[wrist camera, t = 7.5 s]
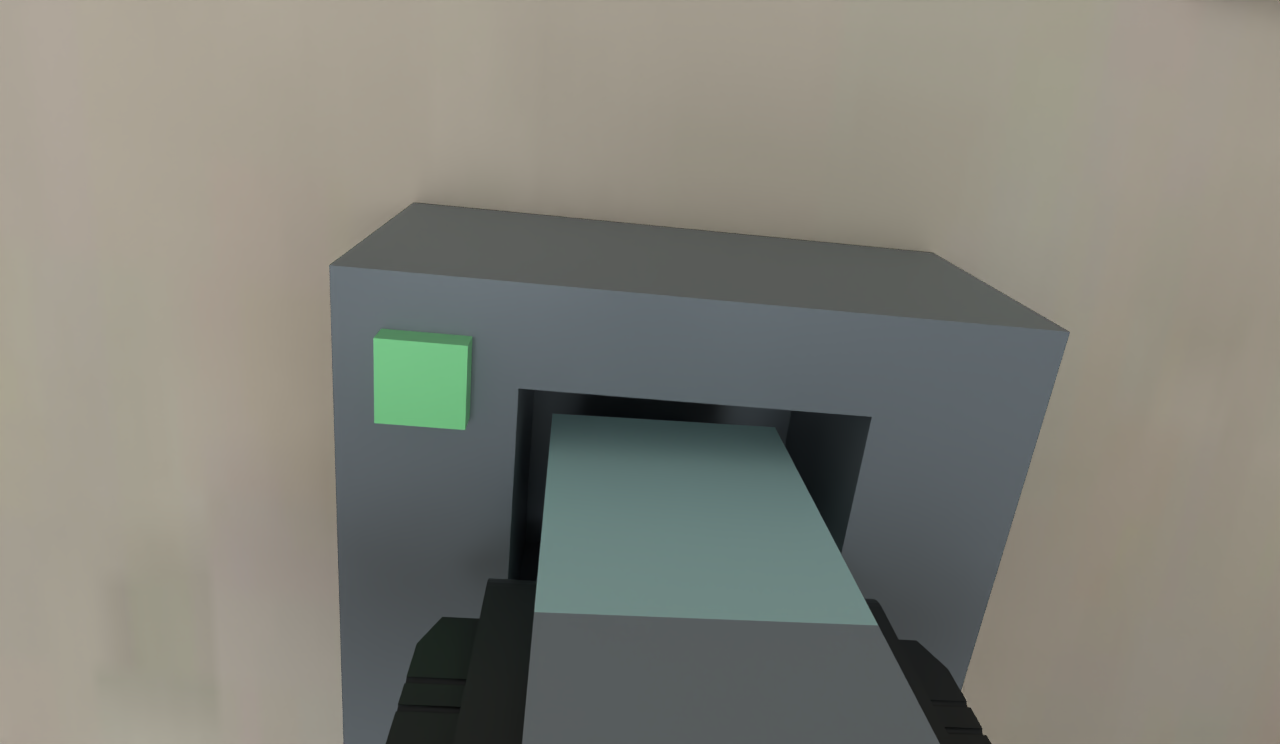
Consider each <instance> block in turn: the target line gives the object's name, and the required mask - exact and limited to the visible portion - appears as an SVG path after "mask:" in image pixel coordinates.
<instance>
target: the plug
mask: <svg viewBox="0 0 1280 744" xmlns="http://www.w3.org/2000/svg"><path fill="white" fill-rule="evenodd" d="M522 744H940V743H939V741H938V739H937V737H936V735H935V734H934V732H933V730H932V728H931V726H930V724H929V722H928V720H927V718H926V716H925V714H924V712H923V710H922V709H921V707H920V705H919V703H918V701H917V699H916V697H915V695H914V693H913V691H912V689H911V687H910V686H909V684H908V682H907V680H906V678H905V676H904V674H903V672H902V670H901V668H900V666H899V664H898V662H897V661H896V659H895V657H894V655H893V653H892V651H891V649H890V647H889V645H888V643H887V641H886V639H885V638H884V636H883V634H882V632H881V630H880V628H879V626H878V624H877V622H876V620H875V618H874V616H873V614H872V613H871V611H870V609H869V607H868V605H867V603H866V601H865V599H864V597H863V595H862V593H861V591H860V590H859V588H858V586H857V584H856V582H855V580H854V578H853V576H852V574H851V572H850V570H849V568H848V566H847V565H846V563H845V561H844V559H843V557H842V555H841V553H840V551H839V549H838V547H837V545H836V543H835V542H834V540H833V538H832V536H831V534H830V532H829V530H828V528H827V526H826V524H825V522H824V520H823V518H822V517H821V515H820V513H819V511H818V509H817V507H816V505H815V503H814V501H813V499H812V497H811V495H810V494H809V492H808V490H807V488H806V486H805V484H804V482H803V480H802V478H801V476H800V474H799V472H798V470H797V469H796V467H795V465H794V463H793V461H792V459H791V457H790V455H789V453H788V451H787V449H786V447H785V446H784V444H783V442H782V440H781V438H780V436H779V434H778V432H777V430H776V428H775V427H765V426H749V425H732V424H716V423H700V422H684V421H667V420H651V419H635V418H619V417H602V416H586V415H570V414H553V413H552V424H551V435H550V446H549V457H548V467H547V478H546V489H545V500H544V511H543V522H542V533H541V543H540V554H539V565H538V576H537V587H536V598H535V609H534V620H533V630H532V641H531V652H530V663H529V674H528V685H527V696H526V706H525V717H524V728H523V739H522Z"/></svg>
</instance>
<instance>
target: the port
mask: <svg viewBox="0 0 1280 744" xmlns="http://www.w3.org/2000/svg"><path fill="white" fill-rule="evenodd" d="M329 268H330V302H331V335H332V369H333V403H334V436H335V470H336V503H337V537H338V571H339V604H340V638H341V672H342V705H343V739H344V744H386V741H387V738H388V734H389V731H390V728H391V725H392V721H393V718H394V715H395V712H396V711H397V708H398V702H399V699H400V696H401V692H402V689H403V686H404V683H406V676H407V673H408V670H409V667H410V663H411V660H412V657H413V654H414V650H415V647H416V644H417V643H418V642H419V641H420V640H421V639H422V638H423V636H424V635H425V634H426V633H427V632H428V631H429V630H430V629H431V628H432V627H433V626H434V625H435V624H436V623H437V622H438V621H439V620H440V619H441V617H457V618H478V619H479V618H480V613H481V609H482V604H483V599H484V594H485V590H486V585H487V581H488V579H489V578H493V579H513V580H532V581H537V576H538V565H539V554H540V543H541V533H542V522H543V511H544V500H545V489H546V478H547V467H548V457H549V446H550V435H551V424H552V413H553V414H570V415H586V416H602V417H619V418H635V419H651V420H667V421H684V422H700V423H716V424H732V425H749V426H765V427H775V428H776V430H777V432H778V434H779V436H780V438H781V440H782V442H783V444H784V446H785V447H786V449H787V451H788V453H789V455H790V457H791V459H792V461H793V463H794V465H795V467H796V469H797V470H798V472H799V474H800V476H801V478H802V480H803V482H804V484H805V486H806V488H807V490H808V492H809V494H810V495H811V497H812V499H813V501H814V503H815V505H816V507H817V509H818V511H819V513H820V515H821V517H822V518H823V520H824V522H825V524H826V526H827V528H828V530H829V532H830V534H831V536H832V538H833V540H834V542H835V543H836V545H837V547H838V549H839V551H840V553H841V555H842V557H843V559H844V561H845V563H846V565H847V566H848V568H849V570H850V572H851V574H852V576H853V578H854V580H855V582H856V584H857V586H858V588H859V590H860V591H861V593H862V595H863V597H864V598H865V599H875V600H877V601H878V602H879V603H880V605H881V607H882V609H883V610H884V612H885V614H886V616H887V618H888V620H889V622H890V624H891V626H892V628H893V630H894V632H895V633H896V635H897V637H898V639H899V640H917V641H918V642H919V643H920V644H921V645H922V646H923V647H924V648H926V649H927V650H928V651H929V652H930V653H931V654H932V655H933V656H934V657H935V658H937V659H938V660H939V661H940V662H941V663H942V664H943V665H944V666H945V667H947V668H948V670H949V671H950V673H951V675H952V677H953V678H954V680H955V682H956V684H957V685H958V687H959V689H960V691H961V689H962V685H963V682H964V679H965V676H966V672H967V669H968V666H969V662H970V659H971V656H972V653H973V649H974V646H975V643H976V639H977V636H978V633H979V630H980V626H981V623H982V620H983V616H984V613H985V610H986V606H987V603H988V600H989V597H990V593H991V590H992V587H993V583H994V580H995V577H996V574H997V570H998V567H999V564H1000V560H1001V557H1002V554H1003V551H1004V547H1005V544H1006V541H1007V537H1008V534H1009V531H1010V527H1011V524H1012V521H1013V518H1014V514H1015V511H1016V508H1017V504H1018V501H1019V498H1020V495H1021V491H1022V488H1023V485H1024V481H1025V478H1026V475H1027V472H1028V468H1029V465H1030V462H1031V458H1032V455H1033V452H1034V448H1035V445H1036V442H1037V439H1038V435H1039V432H1040V429H1041V425H1042V422H1043V419H1044V416H1045V412H1046V409H1047V406H1048V402H1049V399H1050V396H1051V393H1052V389H1053V386H1054V383H1055V379H1056V376H1057V373H1058V369H1059V366H1060V363H1061V360H1062V356H1063V353H1064V350H1065V346H1066V343H1067V340H1068V337H1069V333H1070V332H1069V331H1067V330H1066V329H1064V328H1062V327H1060V326H1059V325H1057V324H1055V323H1054V322H1052V321H1050V320H1048V319H1047V318H1045V317H1043V316H1041V315H1040V314H1038V313H1036V312H1034V311H1033V310H1031V309H1029V308H1028V307H1026V306H1024V305H1022V304H1021V303H1019V302H1017V301H1015V300H1014V299H1012V298H1010V297H1009V296H1007V295H1005V294H1003V293H1002V292H1000V291H998V290H996V289H995V288H993V287H991V286H990V285H988V284H986V283H984V282H983V281H981V280H979V279H977V278H976V277H974V276H972V275H971V274H969V273H967V272H965V271H964V270H962V269H960V268H958V267H957V266H955V265H953V264H952V263H950V262H948V261H946V260H945V259H943V258H941V257H939V256H938V255H936V254H934V253H930V252H919V251H909V250H899V249H888V248H878V247H868V246H857V245H847V244H837V243H826V242H816V241H806V240H795V239H785V238H775V237H764V236H754V235H743V234H733V233H723V232H712V231H702V230H692V229H681V228H671V227H661V226H650V225H640V224H630V223H619V222H609V221H599V220H588V219H578V218H568V217H557V216H547V215H537V214H526V213H516V212H506V211H495V210H485V209H475V208H464V207H454V206H444V205H433V204H423V203H412V204H411V205H410V206H408V207H407V208H406V209H404V210H403V211H402V212H400V213H399V214H398V215H396V216H395V217H394V218H392V219H391V220H390V221H388V222H387V223H385V224H384V225H383V226H381V227H380V228H379V229H377V230H376V231H375V232H373V233H372V234H371V235H369V236H368V237H367V238H365V239H364V240H363V241H361V242H360V243H359V244H357V245H356V246H355V247H353V248H352V249H350V250H349V251H348V252H346V253H345V254H344V255H342V256H341V257H340V258H338V259H337V260H336V261H334V262H333V263H332V264H330V265H329Z"/></svg>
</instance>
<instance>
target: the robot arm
mask: <svg viewBox="0 0 1280 744" xmlns="http://www.w3.org/2000/svg"><path fill="white" fill-rule="evenodd" d="M536 587H537V581H532V580H513V579H493V578H489V579H488V581H487V585H486V590H485V594H484V599H483V604H482V609H481V613H480V618H479V619H478V618H457V617H441V619H440V620H439V621H438V622H437V623H436V624H435V625H434V626H433V627H432V628H431V629H430V630H429V631H428V632H427V633H426V634H425V635H424V636H423V638H422V639H421V640H420V641H419V642H418V643H417V644H416V647H415V650H414V654H413V657H412V660H411V663H410V667H409V670H408V673H407V676H406V683H404V686H403V689H402V692H401V696H400V699H399V702H398V708H397V711H396V712H395V715H394V718H393V721H392V725H391V728H390V731H389V734H388V738H387V741H386V744H522V739H523V728H524V717H525V706H526V696H527V685H528V674H529V663H530V652H531V641H532V630H533V620H534V609H535V598H536ZM864 599H865V598H864ZM865 601H866V603H867V605H868V607H869V609H870V611H871V613H872V614H873V616H874V618H875V620H876V622H877V624H878V626H879V628H880V630H881V632H882V634H883V636H884V638H885V639H886V641H887V643H888V645H889V647H890V649H891V651H892V653H893V655H894V657H895V659H896V661H897V662H898V664H899V666H900V668H901V670H902V672H903V674H904V676H905V678H906V680H907V682H908V684H909V686H910V687H911V689H912V691H913V693H914V695H915V697H916V699H917V701H918V703H919V705H920V707H921V709H922V710H923V712H924V714H925V716H926V718H927V720H928V722H929V724H930V726H931V728H932V730H933V732H934V734H935V735H936V737H937V739H938V741H939V743H940V744H991V742H990V741H989V739H988V737H987V736H986V735H983V734H982V727H981V725H980V723H979V722H978V720H977V718H976V716H975V715H974V713H973V711H972V710H971V708H967V705H966V702H967V701H966V699H965V697H964V696H963V694H962V692H961V691H960V689H959V687H958V685H957V684H956V682H955V680H954V678H953V677H952V675H951V673H950V671H949V670H948V668H947V667H945V666H944V665H943V664H942V663H941V662H940V661H939V660H938V659H937V658H935V657H934V656H933V655H932V654H931V653H930V652H929V651H928V650H927V649H926V648H924V647H923V646H922V645H921V644H920V643H919V642H918V641H917V640H899V639H898V637H897V635H896V633H895V632H894V630H893V628H892V626H891V624H890V622H889V620H888V618H887V616H886V614H885V612H884V610H883V609H882V607H881V605H880V603H879V602H878V601H877V600H875V599H865Z"/></svg>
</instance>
